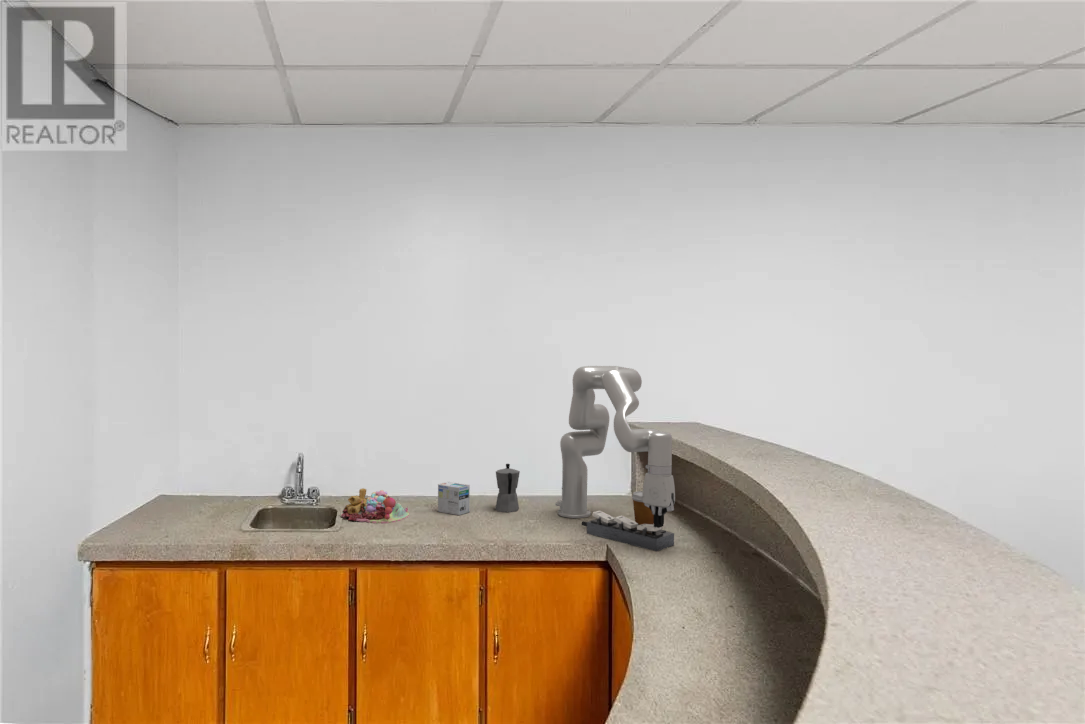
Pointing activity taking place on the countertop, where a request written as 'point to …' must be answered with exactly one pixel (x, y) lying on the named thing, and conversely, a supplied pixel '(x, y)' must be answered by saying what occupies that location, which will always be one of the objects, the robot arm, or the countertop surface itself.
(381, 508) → the candy landscape model
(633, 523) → the rocker
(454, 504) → the light bulb box
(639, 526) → the rocker
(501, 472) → the coffeepot
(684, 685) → the countertop surface
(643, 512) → the disposable coffee cup
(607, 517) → the rocker
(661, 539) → the power strip
